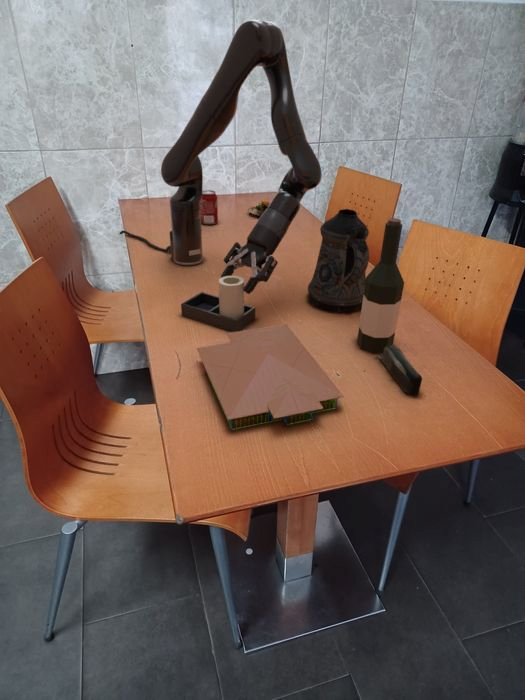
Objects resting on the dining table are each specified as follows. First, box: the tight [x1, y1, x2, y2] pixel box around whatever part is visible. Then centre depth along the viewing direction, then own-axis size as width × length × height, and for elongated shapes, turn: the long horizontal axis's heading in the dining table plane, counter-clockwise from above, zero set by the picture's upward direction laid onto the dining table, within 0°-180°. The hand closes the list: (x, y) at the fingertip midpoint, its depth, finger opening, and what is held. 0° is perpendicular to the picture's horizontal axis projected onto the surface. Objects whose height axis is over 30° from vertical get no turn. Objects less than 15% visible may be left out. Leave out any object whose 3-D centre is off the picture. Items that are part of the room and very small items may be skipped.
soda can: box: [200, 189, 219, 226], centre depth 193 cm, size 7×7×12 cm
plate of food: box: [247, 196, 271, 217], centre depth 206 cm, size 12×12×8 cm
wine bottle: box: [356, 217, 405, 354], centre depth 111 cm, size 8×8×30 cm
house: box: [196, 323, 345, 431], centre depth 103 cm, size 23×33×8 cm
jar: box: [218, 275, 245, 320], centre depth 124 cm, size 6×6×10 cm
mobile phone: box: [377, 344, 423, 396], centre depth 106 cm, size 5×3×15 cm
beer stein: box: [307, 208, 370, 314], centre depth 132 cm, size 16×19×25 cm
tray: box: [180, 291, 256, 332], centre depth 128 cm, size 17×9×3 cm, turn 59°
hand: (234, 286), depth 123 cm, fingers open, 8 cm apart
